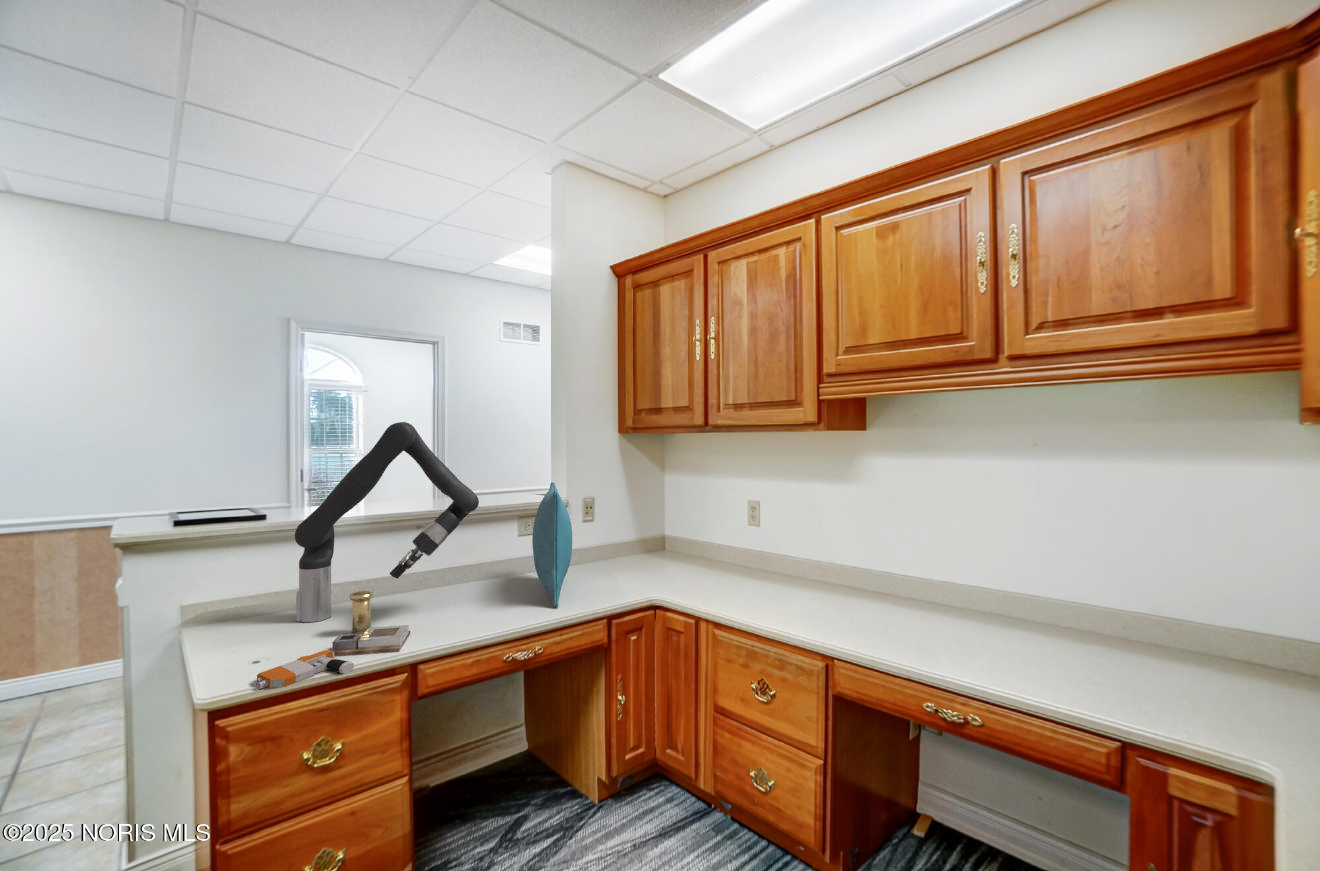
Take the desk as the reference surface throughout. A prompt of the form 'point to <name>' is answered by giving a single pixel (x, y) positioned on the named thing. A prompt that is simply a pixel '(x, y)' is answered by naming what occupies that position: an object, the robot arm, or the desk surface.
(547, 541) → the pillow
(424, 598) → the desk surface
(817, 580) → the desk surface
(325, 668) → the toy gun
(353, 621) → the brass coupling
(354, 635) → the grey square ring
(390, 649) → the walnut board
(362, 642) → the wide steel port
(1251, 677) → the desk surface
